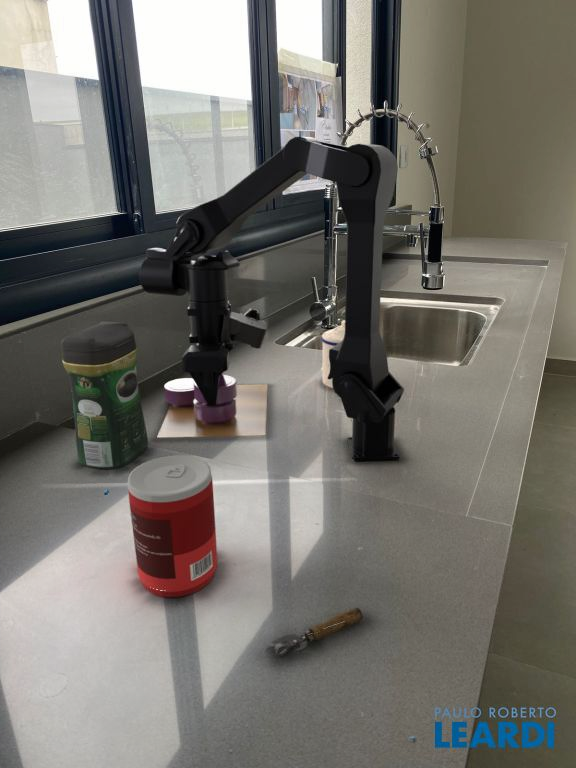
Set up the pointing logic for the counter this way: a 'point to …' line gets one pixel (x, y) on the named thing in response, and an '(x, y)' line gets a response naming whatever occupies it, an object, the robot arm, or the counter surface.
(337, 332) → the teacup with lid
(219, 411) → the plum dish bottom
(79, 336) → the coffee jar
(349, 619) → the can opener
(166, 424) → the placemat
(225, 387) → the purple puck
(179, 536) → the canned food
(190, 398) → the purple hockey puck
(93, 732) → the counter surface
